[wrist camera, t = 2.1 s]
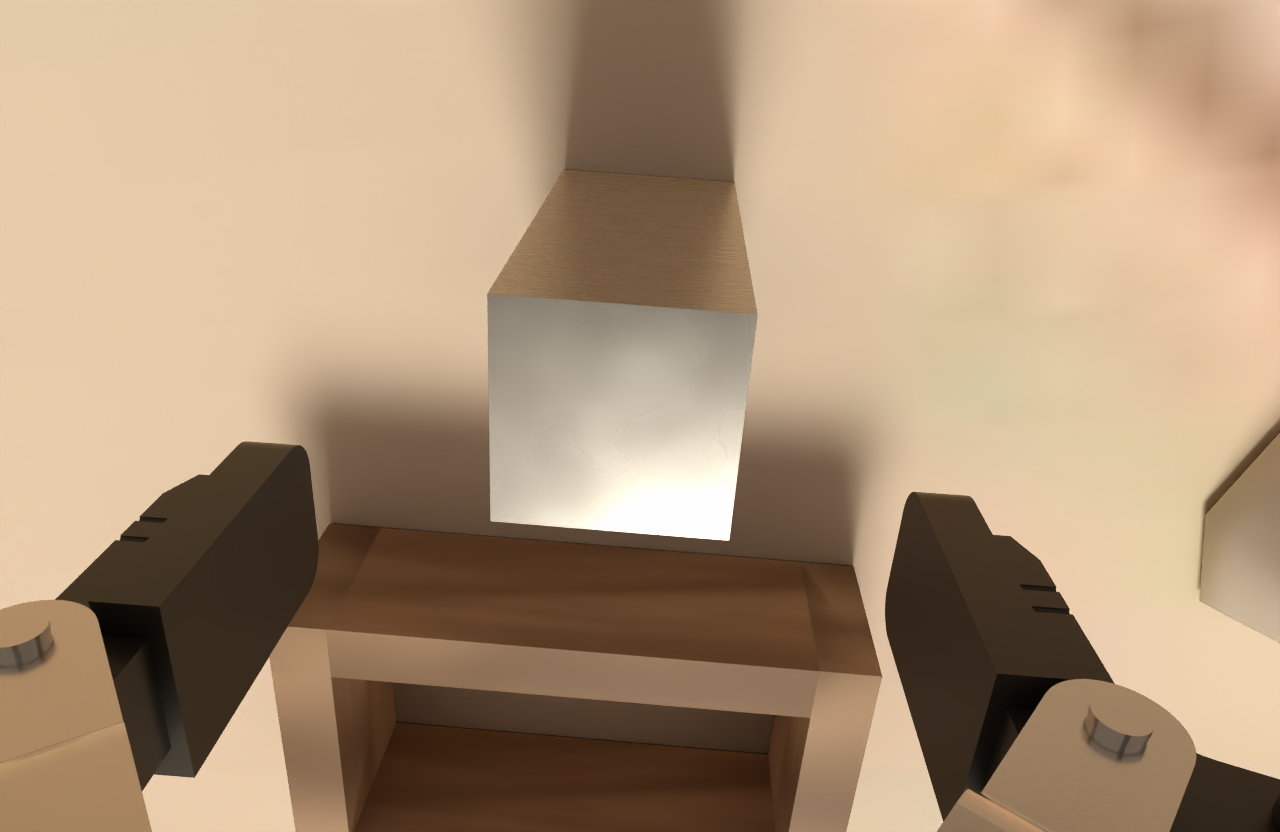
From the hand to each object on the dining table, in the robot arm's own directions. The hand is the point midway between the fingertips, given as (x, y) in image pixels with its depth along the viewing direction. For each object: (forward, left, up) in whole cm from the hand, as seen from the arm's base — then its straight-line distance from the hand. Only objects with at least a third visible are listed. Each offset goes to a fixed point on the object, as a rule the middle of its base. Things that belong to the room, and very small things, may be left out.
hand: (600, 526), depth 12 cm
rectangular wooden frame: (+13, -1, -11) cm, 17 cm away
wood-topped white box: (0, 0, -12) cm, 12 cm away
